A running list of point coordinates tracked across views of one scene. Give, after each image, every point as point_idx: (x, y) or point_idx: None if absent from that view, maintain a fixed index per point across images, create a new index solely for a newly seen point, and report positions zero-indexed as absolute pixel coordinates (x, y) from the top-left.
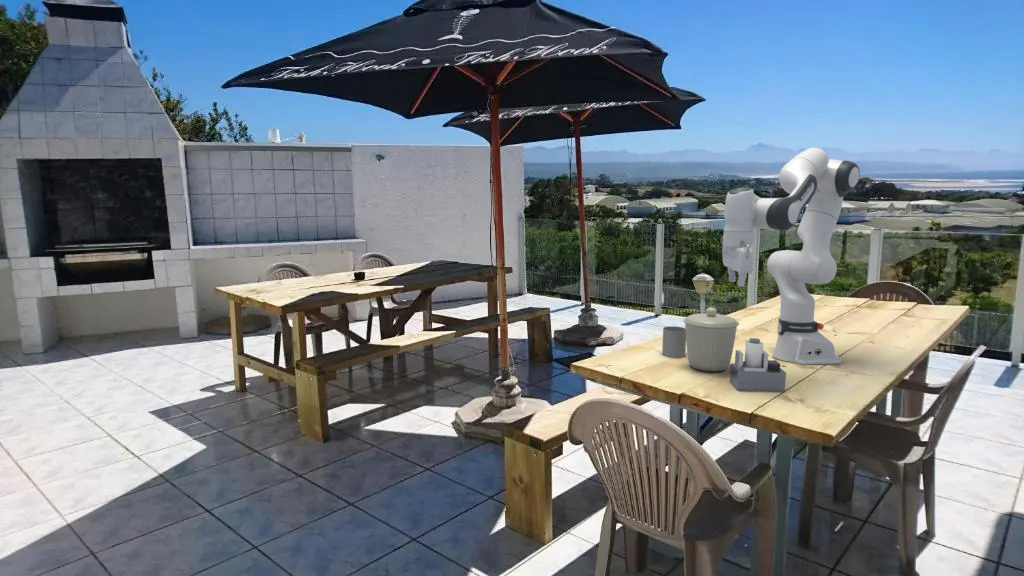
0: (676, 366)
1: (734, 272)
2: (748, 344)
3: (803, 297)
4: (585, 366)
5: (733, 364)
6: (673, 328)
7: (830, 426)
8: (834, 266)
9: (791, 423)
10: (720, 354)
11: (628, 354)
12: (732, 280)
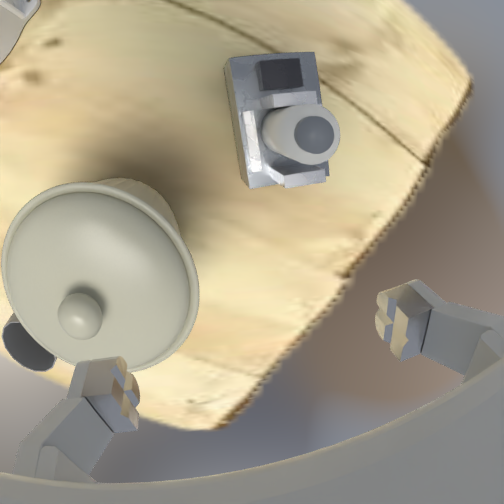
0: None
1: (60, 432)
2: (327, 157)
3: None
4: (213, 423)
5: (260, 181)
6: (8, 345)
7: (451, 59)
8: None
9: (452, 112)
10: (172, 216)
11: None
12: (129, 383)
